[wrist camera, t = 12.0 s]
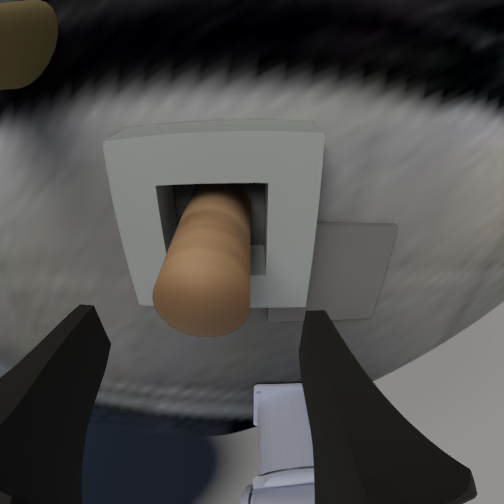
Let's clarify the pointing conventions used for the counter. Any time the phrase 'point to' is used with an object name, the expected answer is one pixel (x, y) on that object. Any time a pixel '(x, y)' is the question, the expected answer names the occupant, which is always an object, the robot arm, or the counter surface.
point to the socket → (220, 171)
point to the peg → (208, 264)
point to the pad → (344, 271)
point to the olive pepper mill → (25, 41)
